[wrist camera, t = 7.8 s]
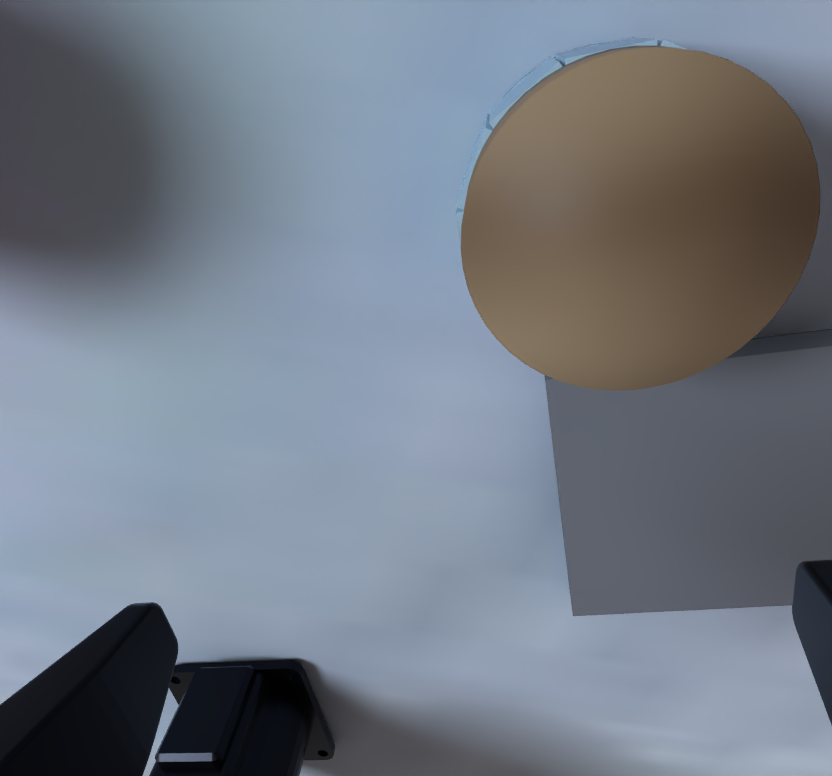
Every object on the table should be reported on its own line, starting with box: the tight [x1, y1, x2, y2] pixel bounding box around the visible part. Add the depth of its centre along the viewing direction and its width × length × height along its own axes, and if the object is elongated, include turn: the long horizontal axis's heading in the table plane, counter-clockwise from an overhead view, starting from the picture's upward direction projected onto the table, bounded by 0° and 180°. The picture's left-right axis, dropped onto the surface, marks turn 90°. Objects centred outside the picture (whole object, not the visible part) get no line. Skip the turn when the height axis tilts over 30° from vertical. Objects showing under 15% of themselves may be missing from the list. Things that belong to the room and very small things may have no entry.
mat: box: [545, 329, 832, 616], centre depth 21 cm, size 10×10×1 cm
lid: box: [461, 46, 820, 391], centre depth 14 cm, size 7×7×2 cm
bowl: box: [456, 37, 688, 241], centre depth 16 cm, size 7×7×4 cm
